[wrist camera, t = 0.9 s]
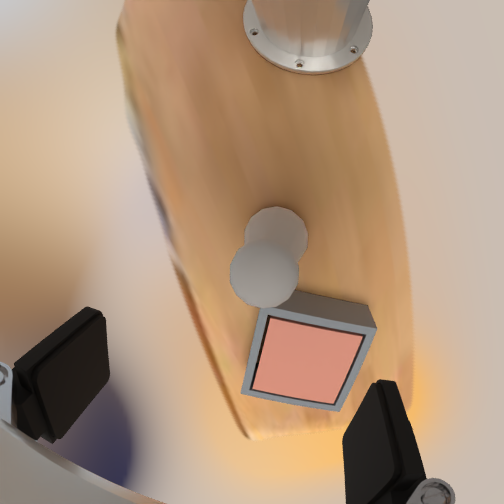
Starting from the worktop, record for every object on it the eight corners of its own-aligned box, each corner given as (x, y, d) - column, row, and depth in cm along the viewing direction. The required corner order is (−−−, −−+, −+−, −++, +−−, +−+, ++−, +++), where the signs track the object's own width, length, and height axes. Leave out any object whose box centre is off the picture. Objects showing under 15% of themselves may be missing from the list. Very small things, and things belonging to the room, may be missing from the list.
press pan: (271, 313, 29) (270, 318, 28) (361, 331, 28) (362, 336, 27) (253, 382, 31) (252, 388, 30) (332, 397, 31) (333, 403, 30)
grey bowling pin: (319, 230, 30) (333, 279, 18) (280, 272, 32) (268, 341, 19) (273, 190, 30) (255, 211, 17) (236, 234, 31) (195, 282, 19)
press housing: (266, 283, 32) (260, 304, 28) (367, 305, 31) (377, 328, 27) (247, 366, 36) (240, 393, 31) (336, 383, 35) (339, 411, 30)
